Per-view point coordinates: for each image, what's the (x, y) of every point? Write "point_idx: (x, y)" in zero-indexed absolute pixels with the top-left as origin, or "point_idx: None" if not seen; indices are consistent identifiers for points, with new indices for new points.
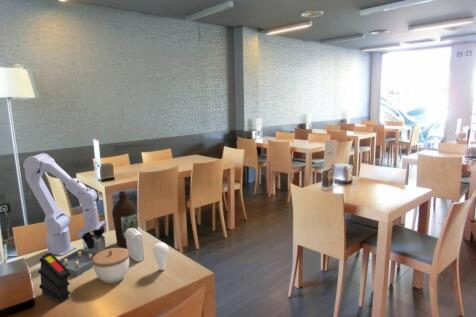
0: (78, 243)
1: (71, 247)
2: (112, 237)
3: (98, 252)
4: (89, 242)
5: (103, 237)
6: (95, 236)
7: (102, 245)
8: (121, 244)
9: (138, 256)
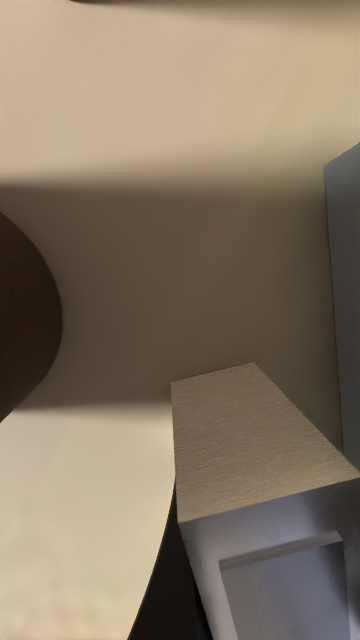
0: None
1: None
2: (3, 532)
3: (253, 367)
4: None
5: (201, 496)
6: (283, 613)
7: (216, 400)
8: (34, 269)
9: None
